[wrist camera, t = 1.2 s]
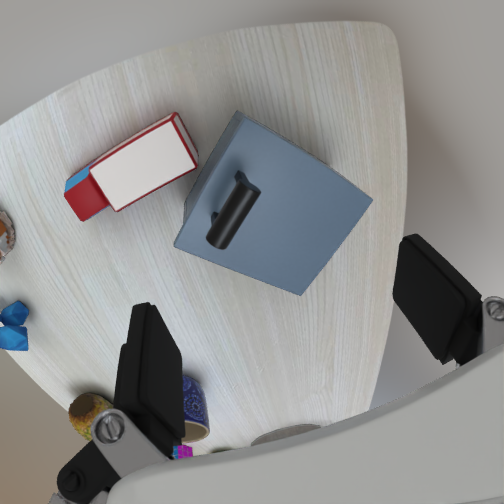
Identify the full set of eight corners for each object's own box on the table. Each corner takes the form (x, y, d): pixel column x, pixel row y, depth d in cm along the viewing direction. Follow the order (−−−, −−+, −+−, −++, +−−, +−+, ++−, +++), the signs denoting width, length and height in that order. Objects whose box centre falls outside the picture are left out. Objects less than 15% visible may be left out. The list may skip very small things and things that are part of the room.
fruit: (56, 432, 41) (129, 486, 55) (104, 418, 44) (170, 475, 58) (59, 386, 52) (122, 447, 66) (101, 371, 55) (158, 436, 69)
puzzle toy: (164, 447, 72) (165, 464, 67) (177, 443, 70) (178, 460, 66) (179, 451, 75) (180, 467, 70) (191, 447, 73) (193, 464, 69)
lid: (173, 242, 27) (170, 278, 22) (244, 116, 22) (257, 125, 17) (298, 291, 32) (314, 326, 28) (369, 196, 28) (399, 221, 23)
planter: (199, 398, 58) (204, 444, 49) (148, 394, 55) (147, 440, 45) (209, 370, 53) (215, 422, 44) (151, 364, 50) (149, 417, 40)
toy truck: (70, 176, 30) (48, 197, 25) (176, 110, 29) (172, 116, 24) (93, 212, 33) (76, 238, 28) (198, 152, 32) (199, 168, 27)
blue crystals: (-28, 330, 31) (-2, 329, 29) (-5, 295, 38) (26, 287, 36) (-1, 359, 35) (31, 363, 33) (19, 324, 42) (53, 321, 40)
